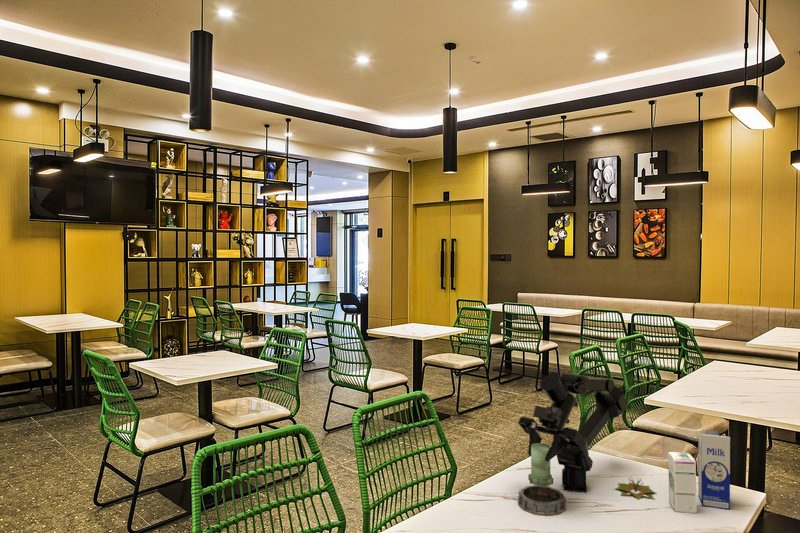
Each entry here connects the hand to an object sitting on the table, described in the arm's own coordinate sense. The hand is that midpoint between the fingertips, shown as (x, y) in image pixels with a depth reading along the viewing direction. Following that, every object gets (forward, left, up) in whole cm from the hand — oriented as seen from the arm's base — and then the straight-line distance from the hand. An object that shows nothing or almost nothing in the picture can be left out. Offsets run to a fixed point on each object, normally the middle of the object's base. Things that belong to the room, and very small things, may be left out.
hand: (537, 457), depth 150 cm
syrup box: (-38, -10, -14) cm, 42 cm away
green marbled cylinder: (-1, -1, -7) cm, 7 cm away
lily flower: (-27, -18, -14) cm, 35 cm away
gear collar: (-1, -1, -13) cm, 14 cm away
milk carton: (-47, -16, -14) cm, 51 cm away
